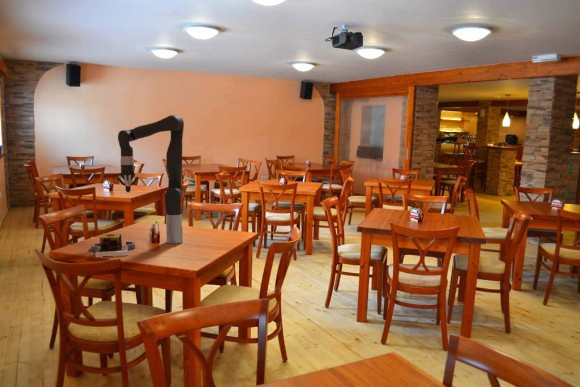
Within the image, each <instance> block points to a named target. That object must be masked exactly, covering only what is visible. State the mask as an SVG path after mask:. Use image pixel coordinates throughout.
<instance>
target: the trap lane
mask: <svg viewBox="0 0 580 387" xmlns="http://www.w3.org/2000/svg"><path fill="white" fill-rule="evenodd" d="M124 246H125V247H124V250H122V251H109V252H100V242H95V243H92V244H91V247H90V250H91V252H95V258H104V257H103V256H113V257H127V256H126V255H128V254H129V250H135V249H136V241H135V240H134V241H133V240H131V241H130V240H127V241H125V245H124Z"/></svg>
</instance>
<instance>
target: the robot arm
mask: <svg viewBox="0 0 580 387" xmlns="http://www.w3.org/2000/svg"><path fill="white" fill-rule="evenodd" d="M184 127H185V121H184V119H183V117H181V115H178V114H177V115H176V114H175V115H173V114H172V115H168V116H166V117H164V118H162V119H160V120H158V121H154V122H151V123H147V124H143V125H138V126H136V127H134V128H132V129H123V130H120V131H118V134H117V142H118V145H119V148H120V174H119V175H118V176H117V177H116V179H117V180H118V182H119V183H120V184H121V185H122V186H125V192H126V193H130V192H132V190H131V186H134V185H135V183H136V182H137V181H138V179H139V176H138V175H136V173H135V161H134V160H135V159H134V148H133V146H131V145H130V142H134V141H137V140H139V139H144V138H148V137H150V136H153V135H155V134H157V133H162V132H170V140H169V143H168V144H169V145H168V146H167V151H166V155H165V158H166V160H165V163H166V165H165V166H166V170H167V174H168V187H167V190H165V193H164V209H165V225H166V226H165V227H166V228H165V229H166V238H165V239H166V244H167V243H168V244H171V245H174V244H177V245H178V244H181V243H183V240H184V239H183V210H182V206H181V205H182V203H181V201H182V200H181V199H182V197H183V187H182V186H183V185H182V174H183V173H182V172H183V135H184ZM132 180H133V181H132Z"/></svg>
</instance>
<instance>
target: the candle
mask: <svg viewBox="0 0 580 387" xmlns="http://www.w3.org/2000/svg"><path fill="white" fill-rule="evenodd" d="M99 243H100V252H109V251H123V241H122V233H118V232H117V233H115V232H114V233H102V235H101V236H100V237H99Z"/></svg>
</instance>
